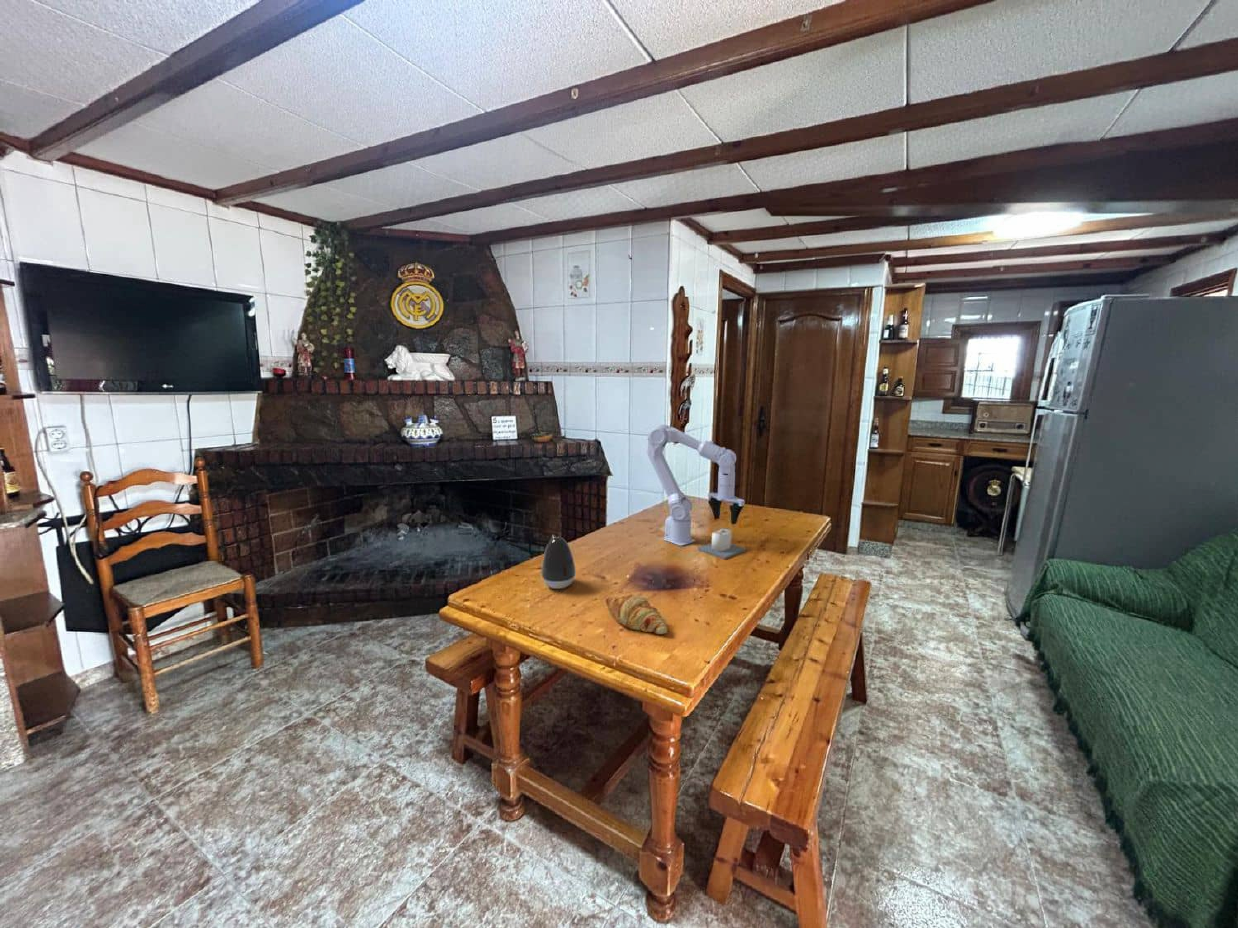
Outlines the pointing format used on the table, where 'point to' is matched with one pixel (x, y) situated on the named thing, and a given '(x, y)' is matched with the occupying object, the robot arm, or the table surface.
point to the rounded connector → (721, 540)
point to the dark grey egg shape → (558, 564)
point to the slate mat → (723, 554)
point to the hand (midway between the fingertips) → (725, 521)
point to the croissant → (636, 614)
